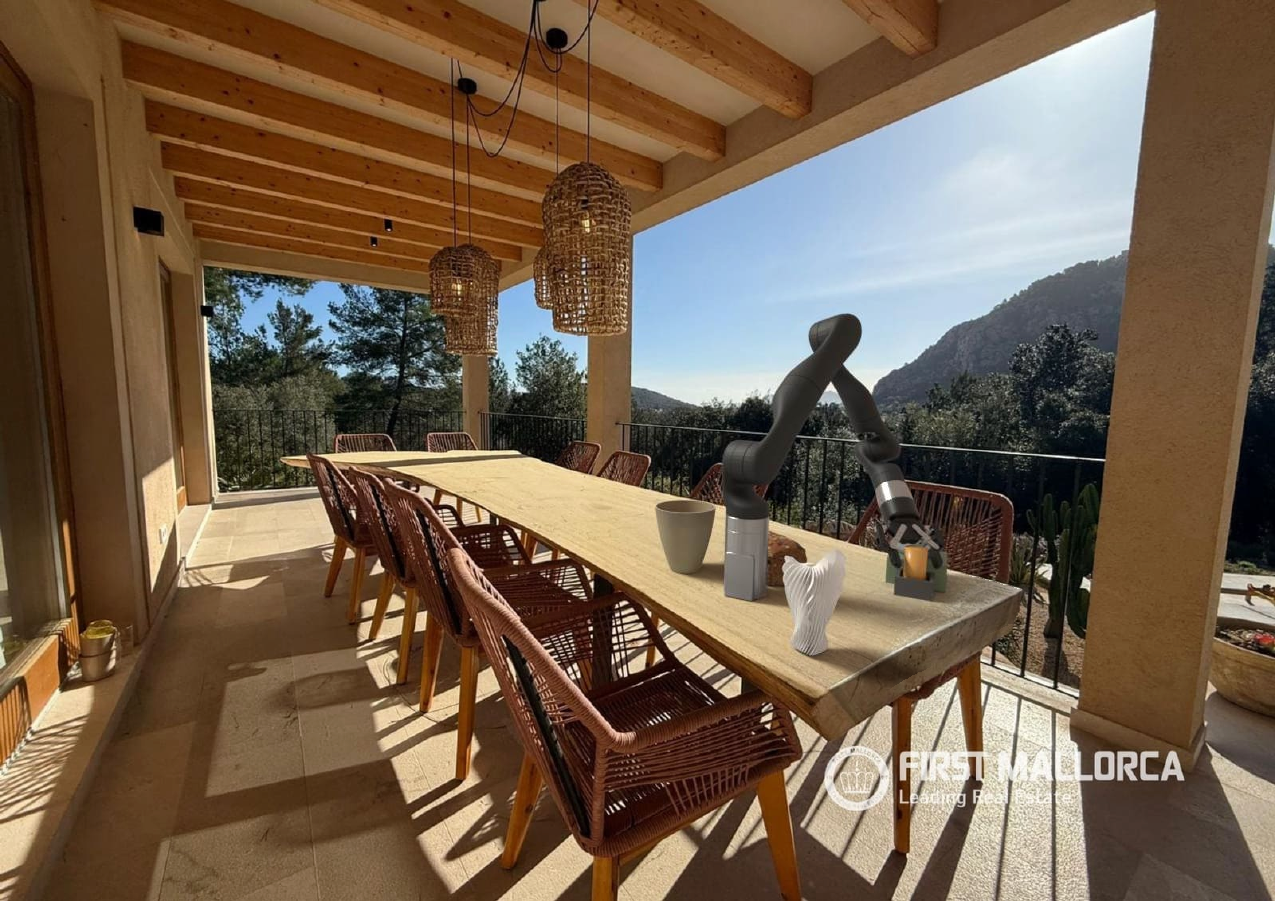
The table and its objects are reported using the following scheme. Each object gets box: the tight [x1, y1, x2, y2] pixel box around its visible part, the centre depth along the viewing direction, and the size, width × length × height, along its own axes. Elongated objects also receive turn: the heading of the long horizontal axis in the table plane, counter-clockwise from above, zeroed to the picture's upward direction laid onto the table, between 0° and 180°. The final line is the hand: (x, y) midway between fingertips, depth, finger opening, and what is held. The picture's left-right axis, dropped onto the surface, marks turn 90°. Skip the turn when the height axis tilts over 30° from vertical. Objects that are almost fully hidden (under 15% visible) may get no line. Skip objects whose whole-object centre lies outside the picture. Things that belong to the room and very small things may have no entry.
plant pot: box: [654, 499, 717, 574], centre depth 129 cm, size 15×15×16 cm
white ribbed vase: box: [782, 548, 847, 656], centre depth 88 cm, size 8×8×18 cm
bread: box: [767, 530, 808, 587], centre depth 127 cm, size 19×11×10 cm, turn 15°
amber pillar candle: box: [903, 545, 928, 581], centre depth 115 cm, size 4×4×10 cm
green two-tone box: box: [885, 542, 948, 602], centre depth 120 cm, size 19×12×8 cm, turn 150°
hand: (918, 567), depth 113 cm, fingers open, 8 cm apart
